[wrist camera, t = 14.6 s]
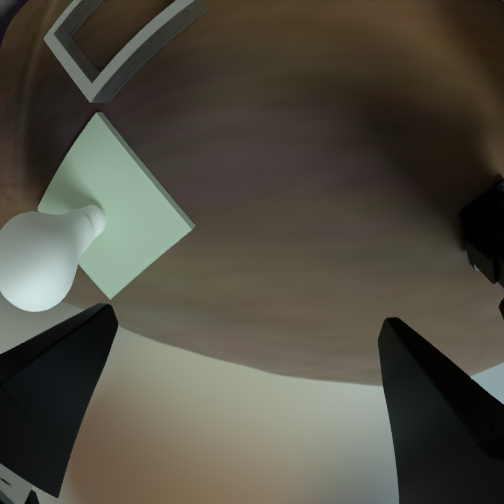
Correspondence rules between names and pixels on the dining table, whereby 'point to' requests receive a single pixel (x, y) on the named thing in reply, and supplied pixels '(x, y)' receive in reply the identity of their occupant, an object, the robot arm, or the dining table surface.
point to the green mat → (115, 205)
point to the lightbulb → (44, 254)
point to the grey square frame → (128, 59)
